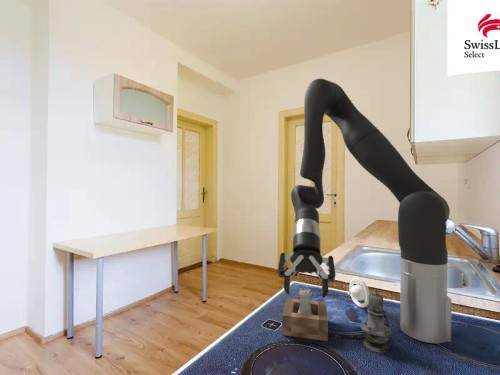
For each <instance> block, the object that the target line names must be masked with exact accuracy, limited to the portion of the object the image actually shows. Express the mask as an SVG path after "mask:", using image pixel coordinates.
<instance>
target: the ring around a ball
mask: <svg viewBox="0 0 500 375" xmlns="http://www.w3.org/2000/svg"><path fill="white" fill-rule="evenodd" d="M355 283H358V284H355ZM354 284H355V285H354ZM348 288H349V289H348V292H347V296H348V297H349V296H350V297H351V299H352V301H353V303H354V304H355V305H356V306H357V307H360V308H366V307H368V306H369V295H370V294H371V293H370V290H369V287H368V285H367V283H366V282H365V281H364V280H362V278H360V277H354V278H352V279H351V280H350V282H349V286H348ZM359 301H364V302H362V303H361V302H359Z"/></svg>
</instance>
